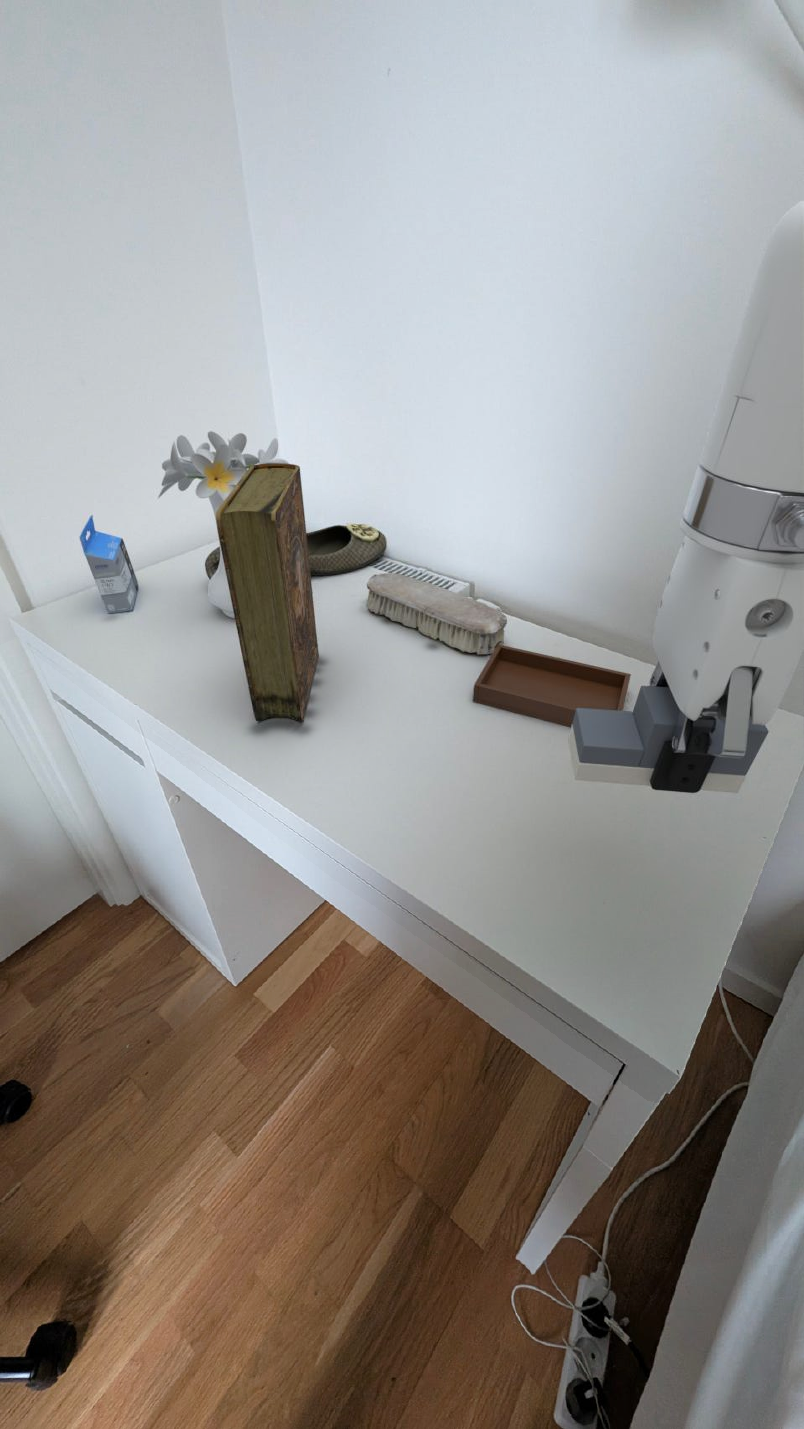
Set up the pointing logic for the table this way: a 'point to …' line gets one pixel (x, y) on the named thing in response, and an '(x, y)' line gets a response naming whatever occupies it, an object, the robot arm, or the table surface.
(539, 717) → the tray
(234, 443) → the flower vase
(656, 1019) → the table surface
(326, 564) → the flat
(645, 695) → the grey stepped block
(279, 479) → the book
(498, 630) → the shoe brush
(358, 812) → the table surface
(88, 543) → the label tape box
